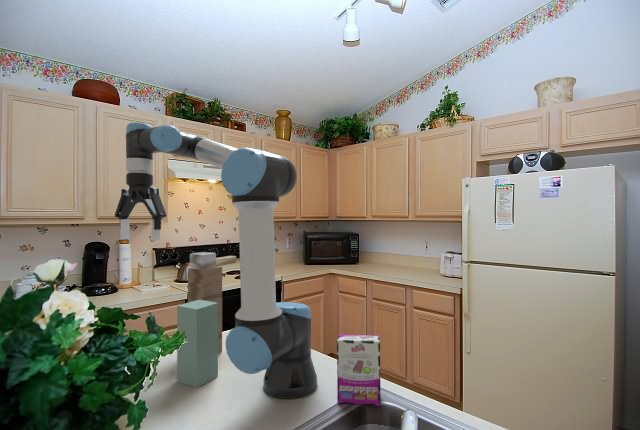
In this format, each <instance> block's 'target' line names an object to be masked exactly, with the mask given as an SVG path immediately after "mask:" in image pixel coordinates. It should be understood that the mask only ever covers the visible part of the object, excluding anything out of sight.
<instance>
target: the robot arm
mask: <svg viewBox="0 0 640 430" xmlns="http://www.w3.org/2000/svg"><path fill="white" fill-rule="evenodd" d="M125 132H126V133H125V156H126V158H125V172H127V173H126V174H125V176H126V177H125V184H126V185H127V186H128V188H122V189H121V193H120V197H119V200H118V204H117V207H116V210H115V211H114V212H115V214H114V217H115V218H117V219H119V229H120V240H123V241H125V240H131V238H130V237H131V236H130V230H131V229H130V227H131V226H130V224H131V223H130V217H129V216H130V215H131V213H132V211H133V210H134V208H135V207H136V205H138V204H139V203H142V204H144V206H145V207H146V209H147V211H148V213H149V214H150V215H151V219H150V241H151V242H154V241H155V242H156V241H161V230H162V219H163V218H166V217H167V212H166V209H165V207H164V205H163V201H162V199H161V195H160V191H159V190H160V189H159V188H158V187H152V186H153V185H154V175H153V174H152V173H153V171H154V170H153V169H154V166H153V165H154V163H153V159H154V157H153V156H154V154H157V153H163V154H170V155H174V156H181V157H185V158H191V159H194V160H197V161H200V162H204V163H206V164H208V165H211V166H214V167H216V168H219V169H221V172H220V175H221V176H220V177H221V178H220V179H221V180H220V181H221V184H222V186H223V188H225V191H226V192H227V193H228V194H229V195H231V204H232V206H233V207H235V208H236V209H237V212H238V237H239V240H238V241H239V273H240V274H239V275H240V277H239V279H240V281H239V282H240V307H239V309H238V310H237V311H236V313H235V315H234V320H235V322H234V323H235V324H234V325H235V326H234V328H231V329H230V331H229V332H228V334H227V335H226V338H225V349H226V350H225V351H226V354H227V356H228V358H229V360H230V362H231V363H232V364H233V365H234V367H235V368H236V369H237V370H239V371H240V372H243V373H244V374H246V375H255V374H258V373H260V372H261V371H264V370H265V373H264V377H263V389H264V391H265V392H266V393H267V394H268V395H270V396H272V397H275V398H279V399H286V400H287V399H289V400H290V399H296V398H297V399H299V398H302V397H305V396H307V395H310V394H311V393H313V392H314V391H315V390H316V388H317V386H318V375H317V372H316V369H315V366H314V362H313V358H312V314H311V313H312V312H311V308H310V306H308V305H307V304H305V303H299V302H292V301H289V302H288V301H280V302H277V298H276V297H277V293H276V290H277V289H276V288H277V287H276V261H275V260H276V257H275V255H276V254H275V225H274V223H275V221H274V220H275V219H274V217H275V216H274V210H275V208H277V206H278V205H279V204H280V198H282V197H285V196H287V195H288V194H290V193H291V192H292V191H293V190H294V188H295V187H296V185H297V182H298V181H297V180H298V172H297V169H296V166H295V165H294V164H293V162H292V161H291V160H290V159H288V157H285V156H284V155H279V154H275V153H272V152H268V151H264V150H261V149H258V148H251V147H250V148H249V147H240V148H236V147H233V146H230V145H226V144H223V143H220V142H217V141H214V140H211V139H208V138H206V137H203V136H199V135H196V134H195V135H194V134H191V133H186V132H183V131H179V130H178V128H176V127H175V126H173V125H170V124H168V125H166V124H165V125H164V124H163V125H157V126H154V127H152V125H150V124H148V123H145V122H144V123H142V122H130V123H128V124H127V125H126V130H125Z"/></svg>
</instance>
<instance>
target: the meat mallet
mask: <svg viewBox="0 0 640 430" xmlns="http://www.w3.org/2000/svg"><path fill="white" fill-rule="evenodd" d="M233 264H237V255H227V256H221V257H217V253H216V252H209V251H208V252H206V251H205V252H204V251H203V252H202V251H201V252H193V253H190V254H189V268H190V269H199V270H205V269H210V268H216V266H218V267H223V266H225V265H233Z"/></svg>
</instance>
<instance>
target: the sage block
mask: <svg viewBox="0 0 640 430" xmlns="http://www.w3.org/2000/svg"><path fill="white" fill-rule="evenodd" d="M176 308H177V310H176V314H177V315H176V317H177V318H176V319H177V320H176V323H177V324H176V326H177V327H176V328H177V330H176V331H178V330H180V331H185V336H186V340H187V341H188V342H187V343H184V344H182V345H181V347H180V349H179V350H177V349H176V353H177V355H176V356H177V357H176V363H177V364H176V365H177V366H176V367H177V370H176V372H177V373H176V375H177V377H176V378H177V379H176V382H178V383H181V384H183V385H186V386H190V387H192V388H194V389H195V388H196V389H198V388H200V387H201V386H203V385H205V384H207V383H208V382H210V381H212V380H214V379H216V378H217V377H219V354H218V303H216V302H210V301H204V300H196V301H192V302H189V303H188V302H186V303H182V304H178V305H176Z"/></svg>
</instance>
